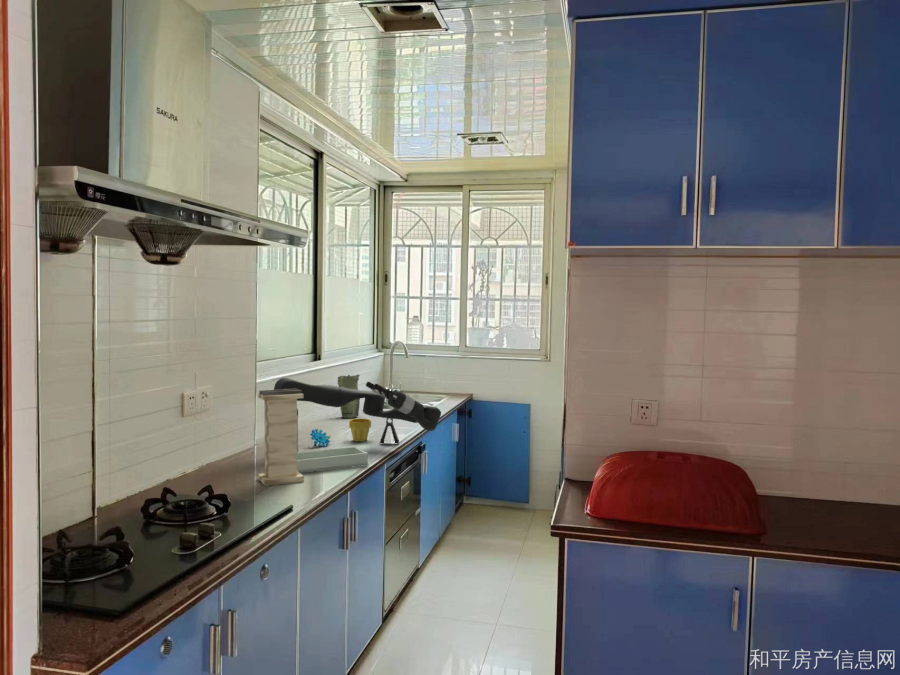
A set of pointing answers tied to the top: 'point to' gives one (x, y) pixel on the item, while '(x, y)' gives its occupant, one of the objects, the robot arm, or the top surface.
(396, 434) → the pliers
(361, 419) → the plant pot
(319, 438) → the gear
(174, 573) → the top surface
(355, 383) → the pouch
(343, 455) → the tray
